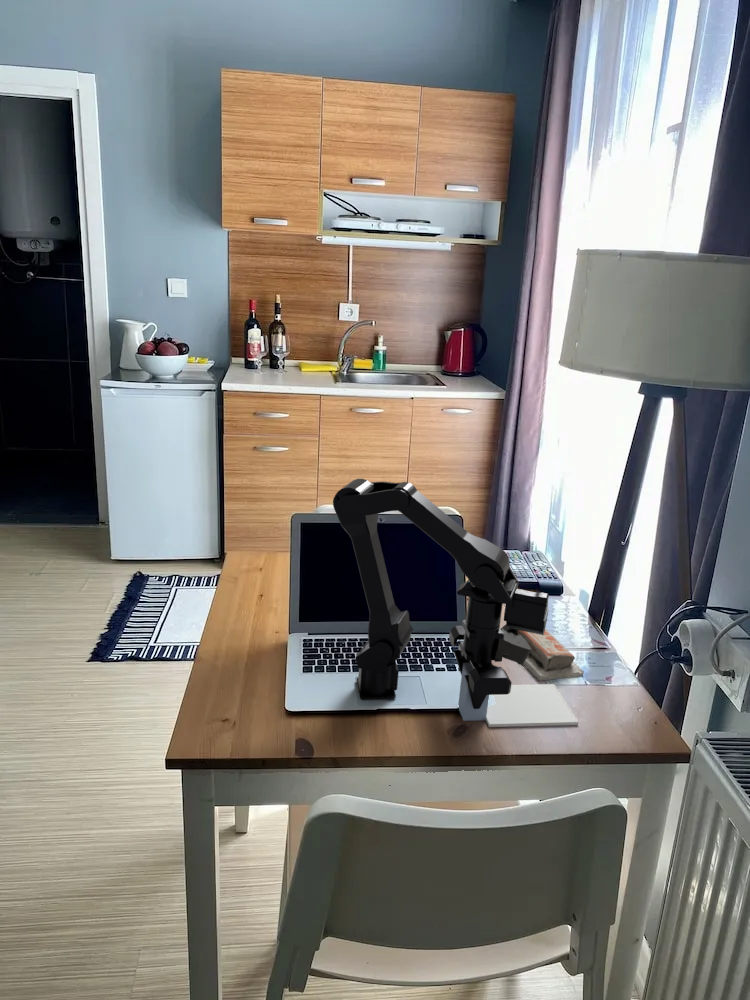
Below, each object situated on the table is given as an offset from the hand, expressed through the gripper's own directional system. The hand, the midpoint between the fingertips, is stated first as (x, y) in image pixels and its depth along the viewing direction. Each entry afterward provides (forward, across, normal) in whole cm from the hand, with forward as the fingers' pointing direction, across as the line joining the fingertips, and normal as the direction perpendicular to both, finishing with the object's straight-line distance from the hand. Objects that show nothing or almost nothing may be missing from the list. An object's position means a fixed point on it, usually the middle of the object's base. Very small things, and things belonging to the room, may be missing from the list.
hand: (473, 701), depth 133 cm
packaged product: (+3, +20, -19) cm, 28 cm away
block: (+2, 0, 0) cm, 2 cm away
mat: (+2, +2, -10) cm, 10 cm away
